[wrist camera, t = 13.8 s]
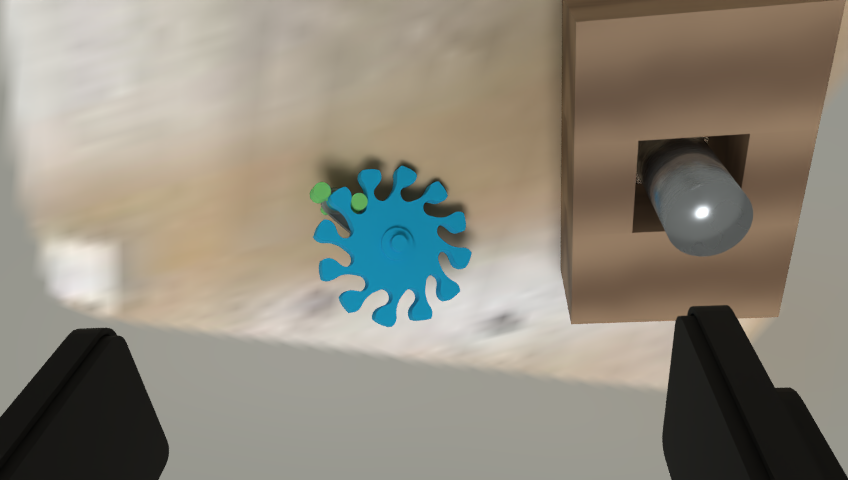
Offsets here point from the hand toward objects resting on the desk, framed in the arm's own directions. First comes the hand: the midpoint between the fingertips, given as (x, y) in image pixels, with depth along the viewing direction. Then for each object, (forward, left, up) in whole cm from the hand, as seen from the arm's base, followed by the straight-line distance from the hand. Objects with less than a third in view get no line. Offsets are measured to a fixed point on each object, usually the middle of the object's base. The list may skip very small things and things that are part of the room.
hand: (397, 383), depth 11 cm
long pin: (+9, +12, -30) cm, 34 cm away
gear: (+13, -5, -31) cm, 34 cm away
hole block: (+9, +12, -30) cm, 34 cm away
